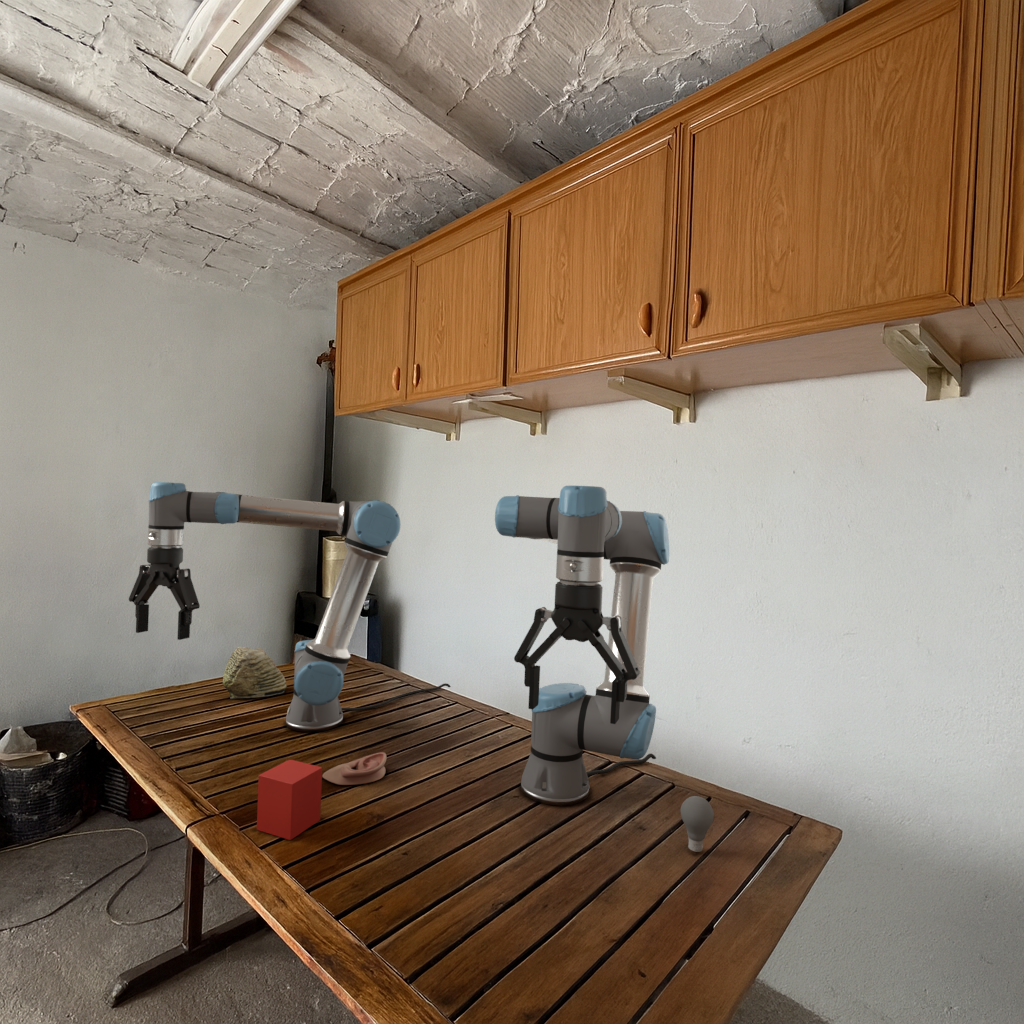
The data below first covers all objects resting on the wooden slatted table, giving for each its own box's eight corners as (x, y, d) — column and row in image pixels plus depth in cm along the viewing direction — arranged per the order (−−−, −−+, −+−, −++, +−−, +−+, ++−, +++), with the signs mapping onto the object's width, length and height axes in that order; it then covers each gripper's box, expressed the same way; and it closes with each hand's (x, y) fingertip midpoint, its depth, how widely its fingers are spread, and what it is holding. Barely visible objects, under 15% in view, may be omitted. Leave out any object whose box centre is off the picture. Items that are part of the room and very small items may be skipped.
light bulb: (674, 841, 122) (676, 790, 121) (704, 841, 122) (707, 790, 122) (685, 859, 116) (688, 805, 115) (717, 859, 116) (719, 805, 116)
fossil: (218, 695, 195) (220, 647, 195) (278, 685, 208) (279, 640, 207) (228, 703, 189) (230, 653, 188) (289, 692, 201) (290, 645, 201)
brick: (256, 829, 120) (258, 775, 120) (287, 810, 127) (289, 759, 127) (290, 840, 117) (292, 784, 116) (320, 820, 124) (322, 767, 124)
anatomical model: (316, 763, 140) (340, 744, 151) (315, 781, 140) (339, 761, 151) (372, 771, 137) (392, 751, 149) (371, 789, 138) (391, 768, 149)
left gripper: (113, 543, 152) (110, 631, 153) (191, 551, 143) (188, 644, 144) (142, 542, 159) (139, 626, 160) (218, 549, 150) (214, 638, 151)
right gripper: (498, 577, 103) (492, 707, 103) (653, 592, 93) (646, 735, 93) (515, 573, 110) (510, 695, 110) (661, 586, 100) (655, 720, 100)
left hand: (162, 635), depth 152 cm, fingers open, 13 cm apart
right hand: (573, 714), depth 102 cm, fingers open, 13 cm apart
